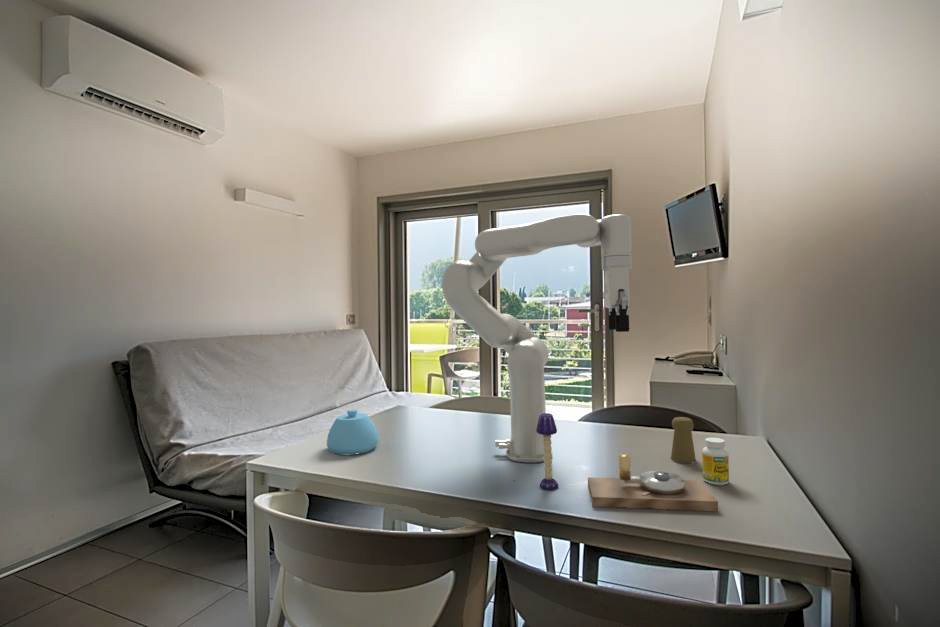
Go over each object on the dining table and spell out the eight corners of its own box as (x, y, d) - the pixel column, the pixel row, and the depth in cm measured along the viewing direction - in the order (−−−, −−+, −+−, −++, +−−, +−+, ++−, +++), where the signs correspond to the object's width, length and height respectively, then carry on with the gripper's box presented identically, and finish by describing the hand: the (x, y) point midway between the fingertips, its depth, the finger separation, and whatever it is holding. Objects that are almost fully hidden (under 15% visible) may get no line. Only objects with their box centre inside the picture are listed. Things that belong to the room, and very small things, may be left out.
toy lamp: (558, 491, 106) (556, 416, 106) (537, 491, 107) (535, 416, 106) (558, 483, 111) (556, 412, 110) (538, 482, 112) (536, 411, 111)
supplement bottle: (717, 476, 113) (716, 435, 113) (734, 484, 108) (734, 441, 108) (697, 478, 112) (696, 437, 112) (714, 487, 107) (713, 444, 106)
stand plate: (592, 506, 98) (592, 495, 98) (588, 486, 109) (587, 476, 109) (718, 511, 94) (717, 500, 94) (700, 489, 105) (700, 479, 105)
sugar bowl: (375, 439, 152) (374, 403, 152) (382, 453, 138) (381, 413, 137) (326, 445, 147) (325, 407, 147) (327, 459, 133) (326, 418, 133)
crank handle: (678, 478, 106) (677, 450, 106) (690, 495, 97) (690, 464, 97) (616, 476, 108) (615, 449, 108) (622, 492, 99) (622, 462, 99)
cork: (698, 464, 121) (698, 420, 121) (673, 463, 123) (672, 420, 122) (692, 456, 127) (692, 415, 127) (668, 455, 129) (667, 414, 128)
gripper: (596, 267, 132) (598, 329, 132) (607, 261, 115) (609, 333, 115) (624, 265, 131) (626, 328, 132) (639, 260, 114) (641, 332, 114)
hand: (618, 330), depth 123 cm, fingers open, 9 cm apart
